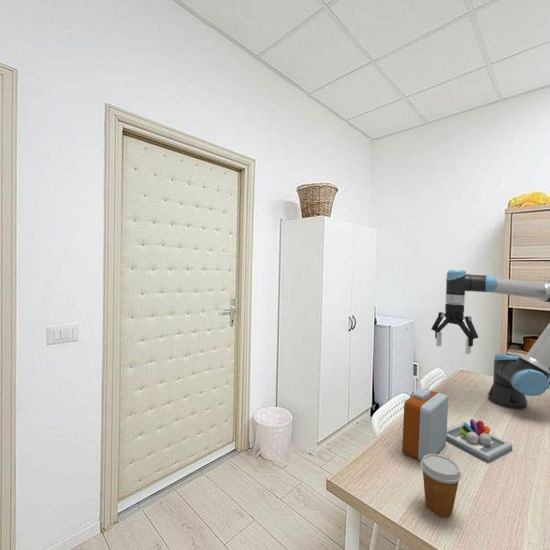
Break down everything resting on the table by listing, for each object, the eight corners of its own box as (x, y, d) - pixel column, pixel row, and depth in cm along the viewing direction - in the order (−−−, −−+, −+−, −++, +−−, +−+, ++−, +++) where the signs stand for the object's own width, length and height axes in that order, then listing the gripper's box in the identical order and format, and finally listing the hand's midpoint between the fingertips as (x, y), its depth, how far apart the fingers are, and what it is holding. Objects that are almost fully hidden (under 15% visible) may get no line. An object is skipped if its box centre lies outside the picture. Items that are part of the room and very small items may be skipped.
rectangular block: (421, 434, 119) (424, 381, 118) (446, 444, 112) (449, 388, 112) (401, 454, 106) (403, 394, 105) (428, 466, 99) (431, 403, 99)
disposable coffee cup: (442, 493, 88) (444, 451, 87) (468, 520, 78) (470, 474, 78) (411, 496, 86) (413, 454, 86) (434, 524, 77) (436, 477, 76)
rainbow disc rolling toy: (495, 448, 108) (496, 428, 108) (465, 444, 110) (465, 424, 110) (484, 435, 117) (485, 416, 116) (456, 431, 119) (457, 413, 118)
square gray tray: (463, 427, 125) (463, 422, 125) (512, 450, 110) (512, 444, 110) (438, 437, 117) (439, 431, 117) (487, 463, 102) (488, 456, 102)
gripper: (424, 300, 151) (423, 343, 152) (479, 307, 129) (476, 357, 130) (434, 300, 155) (432, 342, 156) (488, 306, 133) (486, 355, 134)
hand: (452, 349), depth 143 cm, fingers open, 13 cm apart
